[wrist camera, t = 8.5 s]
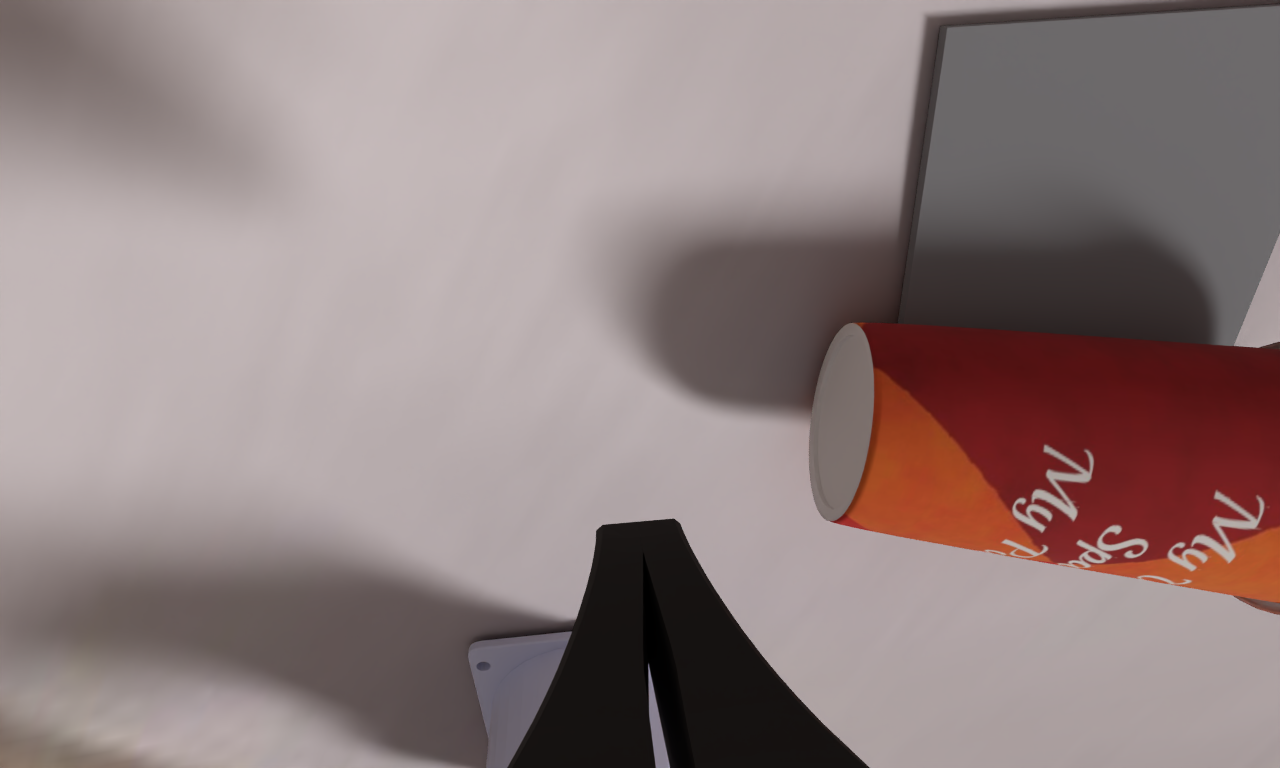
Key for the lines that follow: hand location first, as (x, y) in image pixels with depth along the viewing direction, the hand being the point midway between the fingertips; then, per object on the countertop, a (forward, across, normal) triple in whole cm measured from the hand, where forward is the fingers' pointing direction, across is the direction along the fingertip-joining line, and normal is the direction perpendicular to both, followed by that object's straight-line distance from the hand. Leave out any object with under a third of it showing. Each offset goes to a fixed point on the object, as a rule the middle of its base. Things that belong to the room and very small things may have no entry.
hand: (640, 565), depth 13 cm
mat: (+10, -14, +1) cm, 18 cm away
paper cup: (+7, -6, +2) cm, 10 cm away
